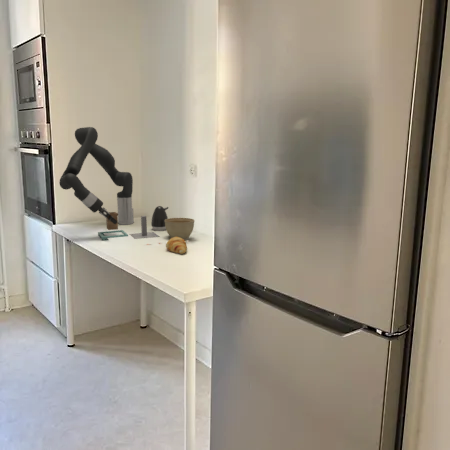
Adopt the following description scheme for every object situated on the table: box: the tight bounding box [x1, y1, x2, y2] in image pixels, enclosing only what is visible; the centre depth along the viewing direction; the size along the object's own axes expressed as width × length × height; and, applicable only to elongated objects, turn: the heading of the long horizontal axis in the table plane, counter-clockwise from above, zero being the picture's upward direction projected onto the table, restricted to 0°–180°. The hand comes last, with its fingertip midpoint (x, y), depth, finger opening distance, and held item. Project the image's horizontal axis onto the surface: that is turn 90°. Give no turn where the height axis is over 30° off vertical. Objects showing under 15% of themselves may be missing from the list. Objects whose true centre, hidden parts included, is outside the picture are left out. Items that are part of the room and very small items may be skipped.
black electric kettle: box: [150, 205, 169, 232], centre depth 265 cm, size 10×10×15 cm
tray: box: [97, 229, 129, 241], centre depth 250 cm, size 14×14×2 cm
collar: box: [105, 211, 119, 231], centre depth 249 cm, size 5×6×9 cm
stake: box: [128, 215, 161, 240], centre depth 248 cm, size 14×14×12 cm
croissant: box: [165, 237, 188, 255], centre depth 220 cm, size 21×10×8 cm, turn 25°
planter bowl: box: [165, 217, 195, 240], centre depth 243 cm, size 16×16×11 cm
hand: (115, 222), depth 249 cm, fingers closed on collar, 5 cm apart
